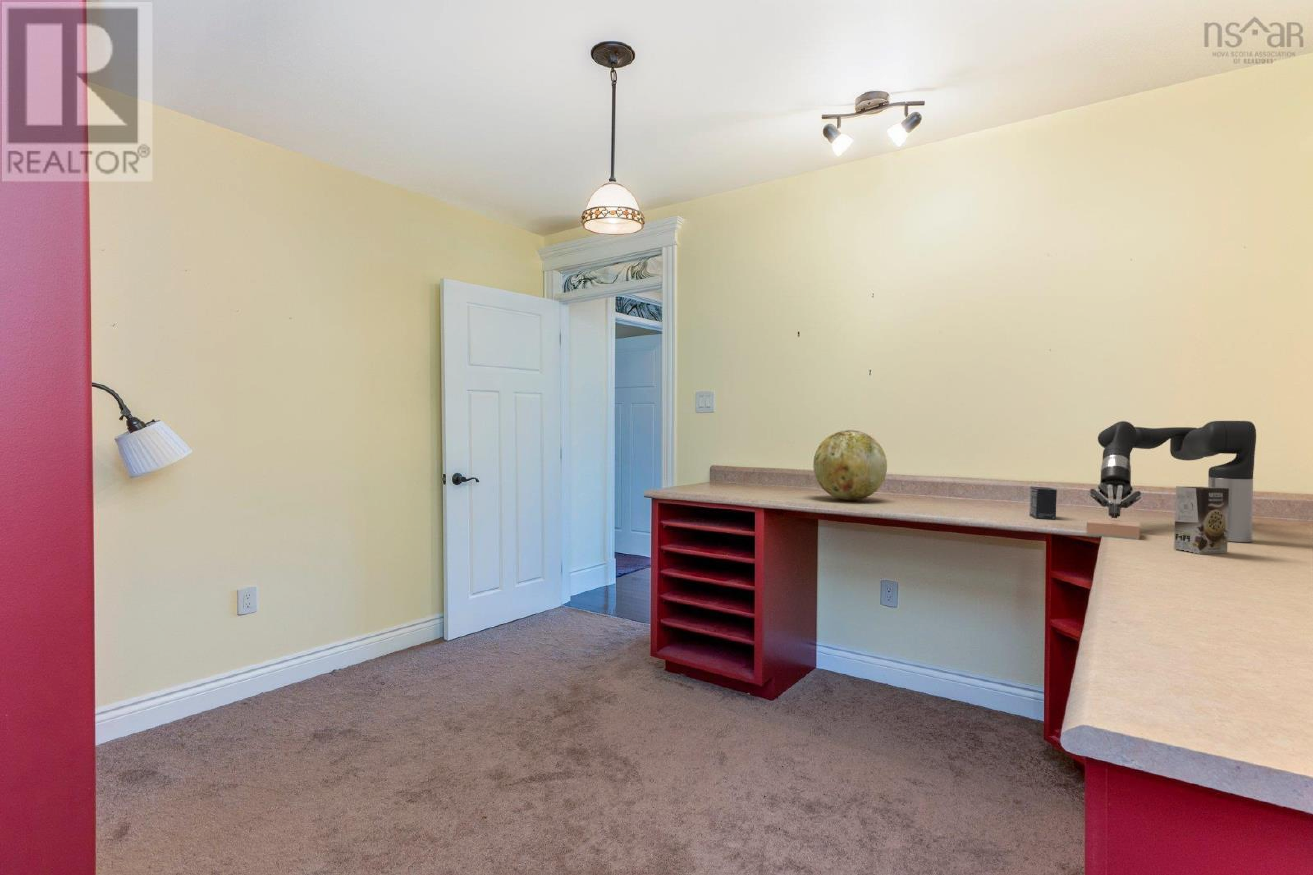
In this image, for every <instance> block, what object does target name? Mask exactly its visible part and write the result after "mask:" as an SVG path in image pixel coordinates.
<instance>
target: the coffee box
mask: <svg viewBox="0 0 1313 875" xmlns="http://www.w3.org/2000/svg"><path fill="white" fill-rule="evenodd" d="M1174 504H1175V506H1174V507H1175V510H1174V511H1175V512H1174V535H1173V536H1174V537H1173V538H1174V539H1173V541H1174V544H1173V550H1175V549H1180V550H1184V551H1183V552H1186V551H1189V552H1188V553H1191V552H1193V553H1192V554H1196V553H1197V555H1204V554H1205V555H1211V554H1212V555H1213V554H1228V543H1229V541H1228V504H1229V488H1217V487H1208V486H1176V487H1175V503H1174ZM1180 550H1179V551H1180Z"/></svg>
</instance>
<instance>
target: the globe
mask: <svg viewBox="0 0 1313 875" xmlns="http://www.w3.org/2000/svg"><path fill="white" fill-rule="evenodd" d="M812 468H813V474H814V477H815V479H816V481H817V483H818V485H819V486H820V488H822V489H823V491H824V492H825V493H827V494H829V496H832V497H833V498H835V499H838V500H842V501H847V502H848V501H851V502H852V501H860V500H863V499H866V498H868V497H870V496H871V495H873V494H875V493H876V492H877V491H878V489H879V488H880V487H881V486H882V484H883V483H884V481H885V479H886V476H887V470H888V460H887V456H886V454H885V451H884V449H883V448H882V446H881V445H880V443H879V442H878V441H877V440H876V439H875V438H873V437H872V436H871V435H869V434H867V433H865V432H863V431H859V430H852V429H851V430H850V429H848V430H840V431H837V432H835V433H832V434H831V435H829V436H827V437H826V438H824V440H823V441H822V442H821V443H819V446H818V447H817V450H816V451H815V453H814V457H813V466H812Z"/></svg>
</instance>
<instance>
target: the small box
mask: <svg viewBox="0 0 1313 875" xmlns="http://www.w3.org/2000/svg"><path fill="white" fill-rule="evenodd" d="M1029 490H1030V501H1029V514H1028V515H1029V516H1030V517H1032V518H1034V519H1039V520H1056V519H1057V496H1058V495H1057V493H1058V492H1057V491H1058V490H1057V489H1055V488H1051V487H1044V486H1043V487H1042V486H1030V489H1029Z"/></svg>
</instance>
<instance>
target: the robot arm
mask: <svg viewBox="0 0 1313 875" xmlns="http://www.w3.org/2000/svg"><path fill="white" fill-rule="evenodd" d="M1167 441H1169V444H1170V445H1169V452H1170V456H1172V457H1173V458H1174V459H1177V460H1180V461H1196V460H1197V461H1198V460H1201V459H1203V458H1209V457H1214V456H1216V455H1219V454H1222V455H1223V454H1226V455H1227V454H1228V455H1230V454H1231V455H1234V454H1235V457H1234V458H1233V459H1232V460H1230V461H1228V462H1225V463H1222V464H1219V465H1214V466H1211V467H1210V468H1208V471H1207V472H1208V474H1207V476H1208V480H1207V481H1208V482H1207V484H1208V485H1207V487H1217V488H1229V504H1228V542H1235V543H1251V542H1252V541H1253V514H1254V513H1253V508H1254V507H1253V505H1254V504H1253V503H1254V499H1253V498H1254V471H1255V470H1254V469H1255V455H1256V445H1257V429H1256V425H1255V424H1254V423H1253V422H1252V421H1249V420H1213V421H1209V422H1207V423H1205V424H1204V425H1203V426H1201V427H1190V426H1187V427H1185V426H1180V427H1179V426H1178V427H1177V426H1175V427H1174V426H1173V427H1159V428H1157V427H1156V428H1152V427H1141V426H1134V425H1133V424H1132V423H1130V422H1129V421H1126V420H1121V421H1117V422H1116V423H1114V424H1112V425H1110V426H1109V427H1107V428H1105V429H1103V430H1102V431H1100V433H1098V436H1097V443H1099V445H1100V446H1101V447H1102V448H1104V449H1103V451H1102V462H1101V466H1100V481H1099V482H1100V484H1098V486H1097V488H1090V490H1089V491H1090V492H1089V495H1090V497H1092V499H1093V500H1095V501H1096V503H1097V504H1099V505H1100V507H1101V506H1102V507H1103V508H1106V507H1107V508H1108V516H1109V517H1111V519H1118V517H1119V518H1120V517H1121V509H1123V508H1124V509H1128V508H1129V507H1131V506H1132V505H1133V504H1135V503H1137V501H1139V500H1141V498H1142V497H1141V494H1142V492H1141V491H1139V490H1134V489H1133V486H1132V480H1131V479H1132V465H1131V453H1132V451H1133V449H1139V450H1141V449H1142V450H1151V449H1156V448H1158V447H1160V446H1162V445H1163V444H1165V443H1166V442H1167ZM1114 500H1115V503H1114Z"/></svg>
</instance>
